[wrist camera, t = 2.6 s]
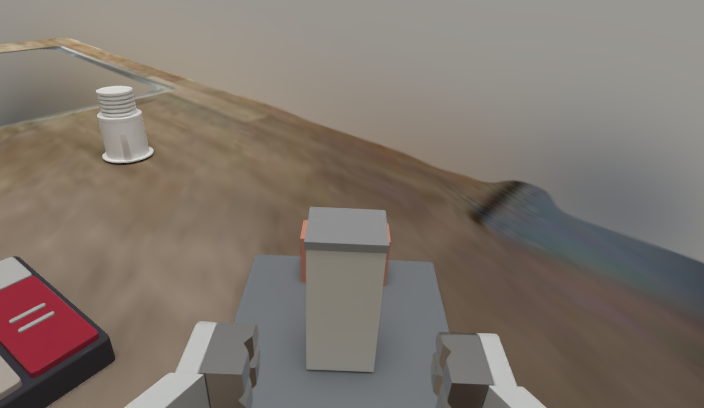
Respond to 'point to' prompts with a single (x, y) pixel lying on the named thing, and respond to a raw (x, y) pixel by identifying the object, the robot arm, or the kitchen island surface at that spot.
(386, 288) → the base
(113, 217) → the kitchen island surface
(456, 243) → the kitchen island surface
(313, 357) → the beige rectangular block
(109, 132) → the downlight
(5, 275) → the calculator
